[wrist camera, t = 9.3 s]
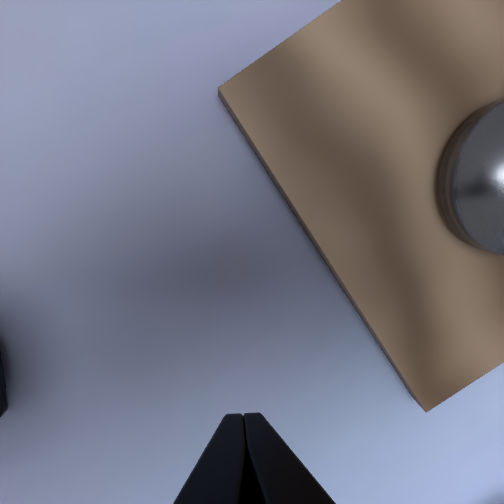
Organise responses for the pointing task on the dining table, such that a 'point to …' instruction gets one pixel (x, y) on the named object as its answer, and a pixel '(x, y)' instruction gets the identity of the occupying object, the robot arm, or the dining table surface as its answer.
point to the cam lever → (476, 180)
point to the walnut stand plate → (387, 171)
